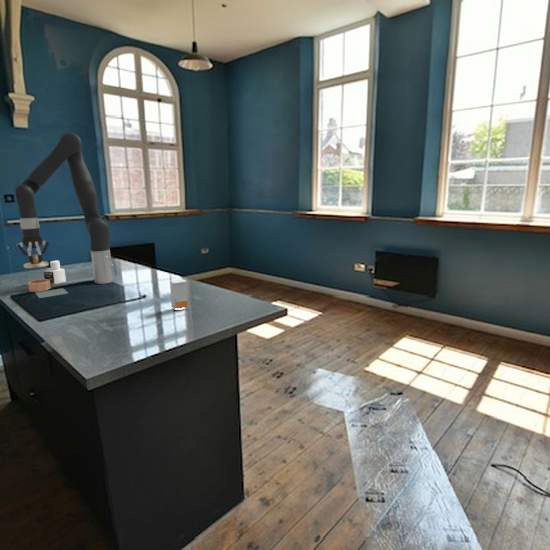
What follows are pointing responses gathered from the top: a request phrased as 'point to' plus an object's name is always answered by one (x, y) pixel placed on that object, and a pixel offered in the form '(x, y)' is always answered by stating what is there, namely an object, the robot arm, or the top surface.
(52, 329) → the top surface
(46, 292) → the mat
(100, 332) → the top surface
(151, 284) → the top surface
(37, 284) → the bowl
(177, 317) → the top surface
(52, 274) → the medicine bottle
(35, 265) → the lid
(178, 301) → the skincare box
